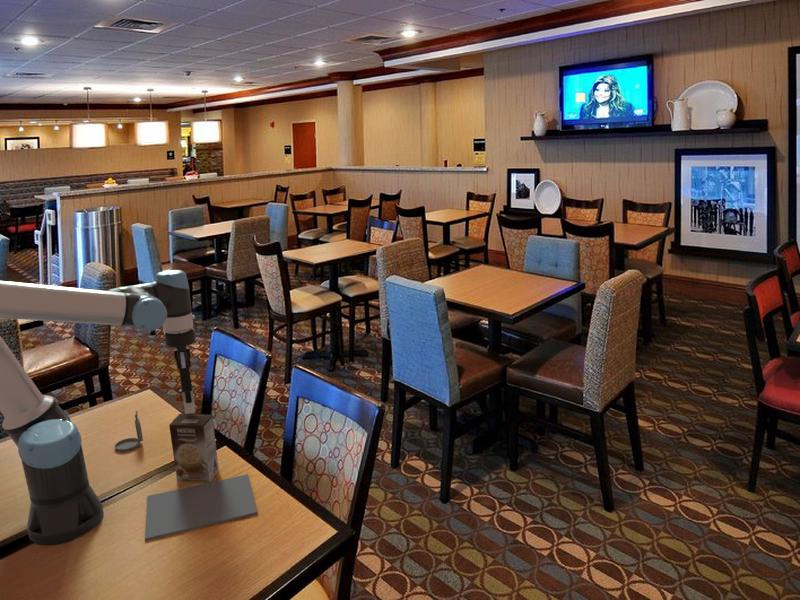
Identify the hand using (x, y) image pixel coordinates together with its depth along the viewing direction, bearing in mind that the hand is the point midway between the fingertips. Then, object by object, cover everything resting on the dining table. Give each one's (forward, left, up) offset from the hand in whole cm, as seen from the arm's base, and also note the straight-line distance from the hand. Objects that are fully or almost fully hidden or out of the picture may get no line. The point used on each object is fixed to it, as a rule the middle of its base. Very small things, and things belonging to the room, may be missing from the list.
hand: (190, 411), depth 163 cm
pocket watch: (-17, +12, -13) cm, 24 cm away
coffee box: (0, -13, -13) cm, 18 cm away
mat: (0, -27, -12) cm, 30 cm away
